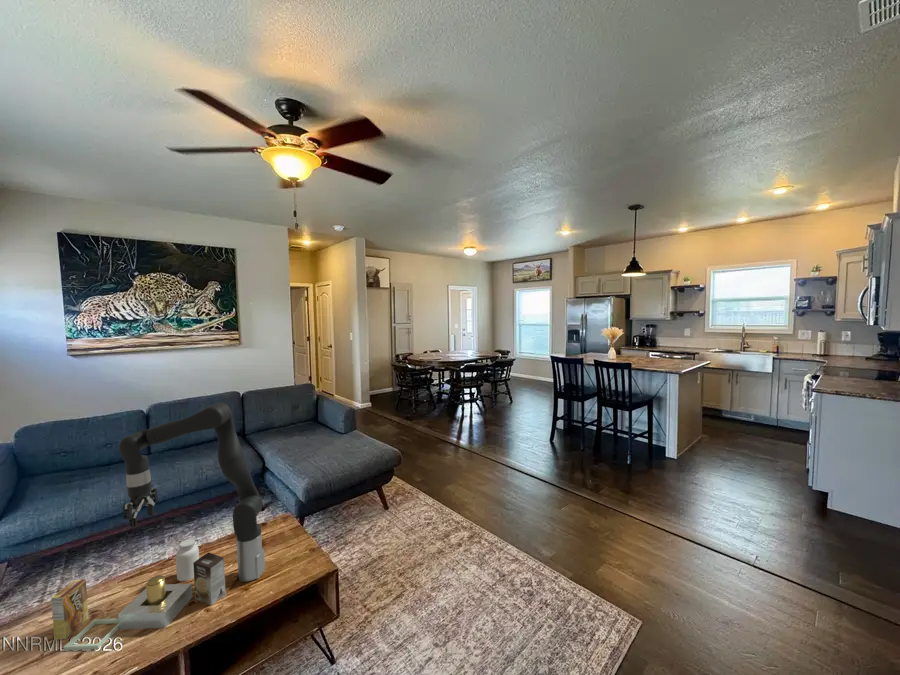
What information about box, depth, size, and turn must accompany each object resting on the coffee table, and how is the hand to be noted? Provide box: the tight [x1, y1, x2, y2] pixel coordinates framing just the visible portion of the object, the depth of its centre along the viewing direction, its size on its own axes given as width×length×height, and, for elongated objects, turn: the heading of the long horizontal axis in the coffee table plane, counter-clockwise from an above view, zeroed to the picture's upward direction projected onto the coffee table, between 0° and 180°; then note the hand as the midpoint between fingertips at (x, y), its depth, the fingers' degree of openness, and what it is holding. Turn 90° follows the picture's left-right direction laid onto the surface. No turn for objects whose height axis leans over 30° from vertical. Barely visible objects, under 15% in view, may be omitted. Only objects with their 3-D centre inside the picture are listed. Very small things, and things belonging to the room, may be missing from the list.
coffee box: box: [193, 552, 226, 606], centre depth 144 cm, size 9×6×16 cm
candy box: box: [50, 578, 89, 641], centre depth 130 cm, size 9×4×15 cm, turn 6°
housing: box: [117, 583, 193, 630], centre depth 137 cm, size 16×14×6 cm
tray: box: [63, 617, 120, 651], centre depth 127 cm, size 11×11×2 cm
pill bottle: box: [175, 538, 200, 582], centre depth 156 cm, size 8×8×15 cm
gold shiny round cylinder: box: [145, 574, 166, 606], centre depth 136 cm, size 5×5×13 cm
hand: (142, 520), depth 150 cm, fingers open, 8 cm apart
